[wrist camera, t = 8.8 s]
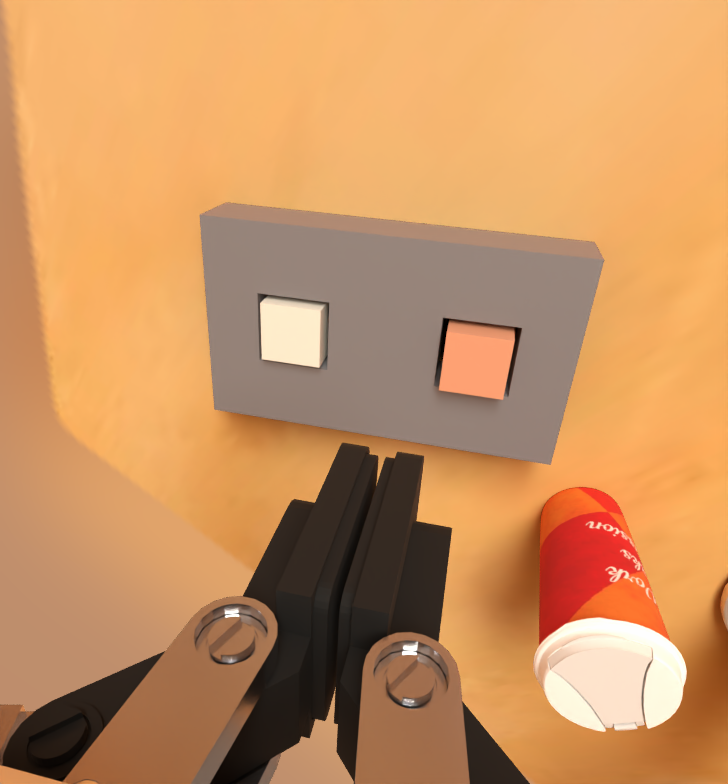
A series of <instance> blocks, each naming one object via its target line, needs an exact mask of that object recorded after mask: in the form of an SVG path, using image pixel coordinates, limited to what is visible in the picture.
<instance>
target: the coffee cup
mask: <svg viewBox="0 0 728 784" xmlns="http://www.w3.org/2000/svg"><path fill="white" fill-rule="evenodd" d="M533 665H534V672H535V675H536V678H537V680H538V682H539V684H540V685H541V687H542V688H543V690H544V693H545V696H546V697H547V699H548V701H549V702H550V704H551V705H552V706H553V707H554V709H555V710H556V711H557V712H559V713H560V714H561V715H562V716H564V717H565V718H567V719H568V720H570V721H572V722H574V723H576V724H578V725H581V726H583V727H586V728H590V729H593V730H597V731H603V732H605V727H606V728H613V727H614V729H615V731H619V730H634V729H637V726H642V725H645V723H644V722H645V721H646V725H647V728H648V729H649V728H652V727H655V726H657V725H659V724H661V723H663V722H665V721H666V720H667V719H669V718H670V717H671V716H672V715H673V714H674V713H675V712H676V710H677V709H678V707H679V705H680V703H681V700H682V696H683V686H684V683H685V680H686V672H687V671H686V666H685V662H684V659H683V657H682V655H681V653H680V652H679V651H678V649H677V648H676V647H675V646H674V645H673V644H672V643H671V642H670V639H669V636H668V634H667V631H666V628H665V626H664V623H663V620H662V617H661V615H660V612H659V609H658V606H657V604H656V601H655V598H654V596H653V593H652V590H651V587H650V585H649V582H648V579H647V577H646V574H645V571H644V568H643V566H642V563H641V560H640V558H639V555H638V552H637V550H636V547H635V544H634V542H633V539H632V537H631V534H630V531H629V529H628V526H627V524H626V521H625V519H624V516H623V514H622V512H621V509H620V507H619V506H618V504H617V503H616V502H615V500H614V499H613V498H612V497H610V496H609V495H607V494H606V493H604V492H602V491H599V490H597V489H593V488H587V487H576V488H570V489H566V490H563V491H561V492H559V493H557V494H555V495H554V496H552V497H551V498H550V499H549V500H548V501H547V503H546V504H545V506H544V508H543V511H542V515H541V528H540V608H539V647H538V648H537V651H536V653H535V656H534V662H533ZM613 725H614V726H613Z"/></svg>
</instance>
